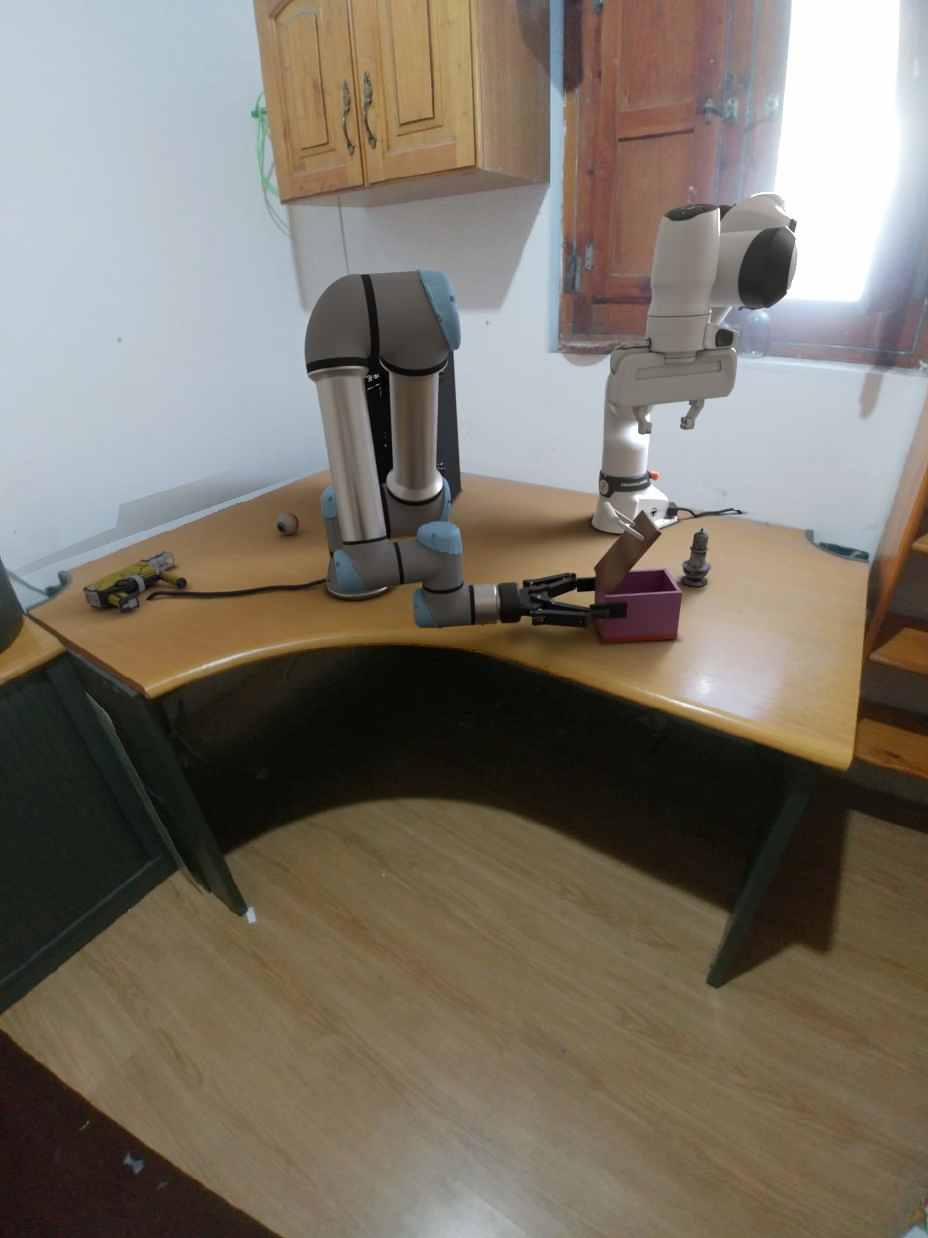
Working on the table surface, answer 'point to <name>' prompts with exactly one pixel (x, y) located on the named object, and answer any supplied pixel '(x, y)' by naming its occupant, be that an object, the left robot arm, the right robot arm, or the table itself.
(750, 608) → the table surface
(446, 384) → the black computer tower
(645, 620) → the chest
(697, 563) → the pewter chess piece
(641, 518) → the lid
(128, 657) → the table surface
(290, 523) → the eyeball
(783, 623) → the table surface
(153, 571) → the toy gun
